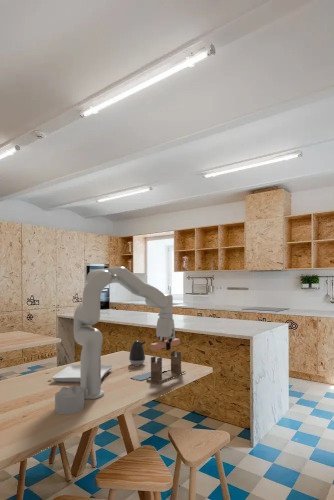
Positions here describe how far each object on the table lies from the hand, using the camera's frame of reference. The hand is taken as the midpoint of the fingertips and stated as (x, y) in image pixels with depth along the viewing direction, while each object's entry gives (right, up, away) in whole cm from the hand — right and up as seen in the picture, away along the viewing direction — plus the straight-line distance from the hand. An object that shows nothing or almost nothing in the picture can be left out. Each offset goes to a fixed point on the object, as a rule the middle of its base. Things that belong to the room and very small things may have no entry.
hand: (165, 349), depth 189 cm
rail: (0, +1, 0) cm, 1 cm away
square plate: (-46, -17, +2) cm, 49 cm away
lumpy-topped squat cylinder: (-40, -13, -44) cm, 61 cm away
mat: (-8, -16, +6) cm, 19 cm away
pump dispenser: (-18, -18, +27) cm, 37 cm away
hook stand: (+1, -16, -1) cm, 16 cm away
